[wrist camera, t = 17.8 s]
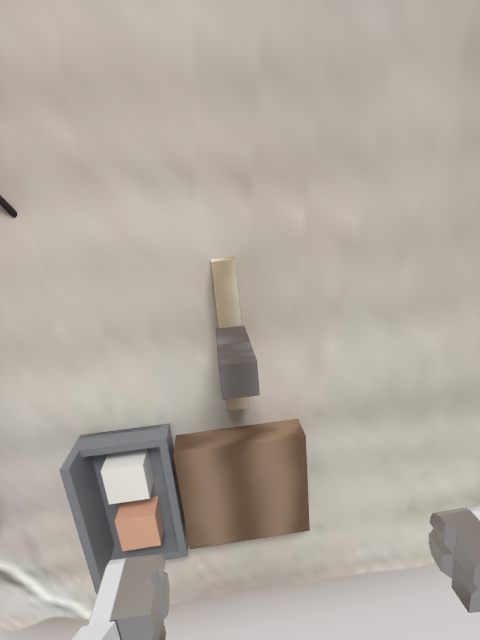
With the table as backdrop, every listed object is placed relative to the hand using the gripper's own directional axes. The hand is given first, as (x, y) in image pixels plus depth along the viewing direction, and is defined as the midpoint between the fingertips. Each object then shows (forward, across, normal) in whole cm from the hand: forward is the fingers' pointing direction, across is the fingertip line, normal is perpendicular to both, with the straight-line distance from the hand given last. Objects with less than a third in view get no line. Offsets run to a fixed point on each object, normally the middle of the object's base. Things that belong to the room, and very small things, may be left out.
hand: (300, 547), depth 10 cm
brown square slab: (+23, +1, +18) cm, 29 cm away
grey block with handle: (+24, +1, +1) cm, 24 cm away
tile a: (+20, +13, +14) cm, 28 cm away
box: (+23, +13, +17) cm, 32 cm away
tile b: (+20, +13, +20) cm, 31 cm away
